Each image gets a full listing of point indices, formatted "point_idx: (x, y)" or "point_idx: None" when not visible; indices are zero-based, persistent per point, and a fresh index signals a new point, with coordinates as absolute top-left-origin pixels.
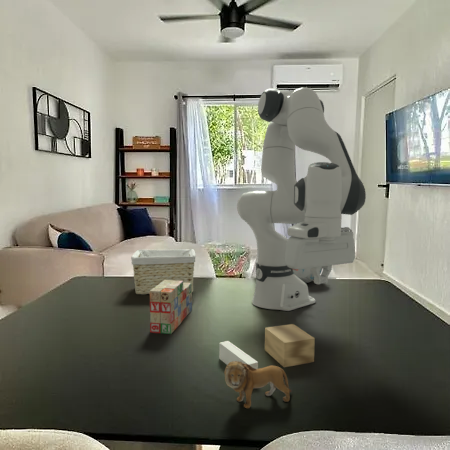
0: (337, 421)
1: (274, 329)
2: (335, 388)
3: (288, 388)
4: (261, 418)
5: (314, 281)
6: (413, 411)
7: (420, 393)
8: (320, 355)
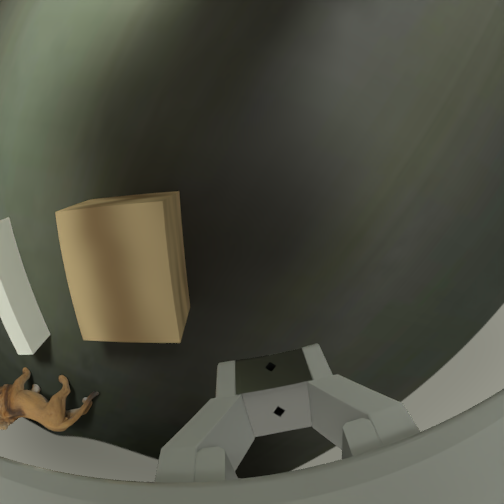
0: (146, 450)
1: (77, 237)
2: (182, 403)
3: (87, 405)
4: None
5: (219, 371)
6: (263, 460)
7: (314, 436)
8: (228, 278)
